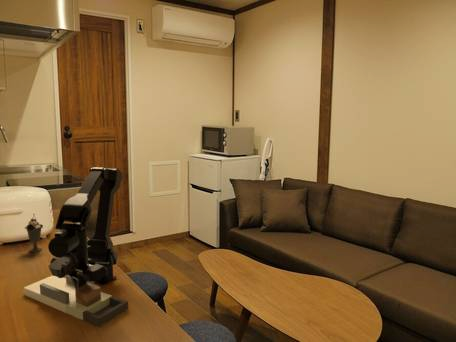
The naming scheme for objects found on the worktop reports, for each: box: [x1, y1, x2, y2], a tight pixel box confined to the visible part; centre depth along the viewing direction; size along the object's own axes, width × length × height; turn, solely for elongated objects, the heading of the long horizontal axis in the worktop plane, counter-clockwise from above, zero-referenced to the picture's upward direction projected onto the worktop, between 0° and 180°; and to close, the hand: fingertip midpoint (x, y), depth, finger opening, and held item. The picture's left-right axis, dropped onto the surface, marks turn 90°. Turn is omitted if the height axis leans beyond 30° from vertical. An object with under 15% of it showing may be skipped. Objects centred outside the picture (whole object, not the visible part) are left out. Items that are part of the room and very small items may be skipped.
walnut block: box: [75, 283, 102, 307], centre depth 114 cm, size 5×5×4 cm
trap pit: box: [82, 295, 129, 328], centre depth 112 cm, size 6×11×2 cm, turn 150°
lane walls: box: [40, 275, 95, 304], centre depth 120 cm, size 12×10×3 cm
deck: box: [23, 274, 112, 321], centre depth 120 cm, size 28×11×2 cm, turn 60°
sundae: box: [24, 213, 44, 253], centre depth 158 cm, size 7×7×15 cm
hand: (79, 293), depth 117 cm, fingers closed
